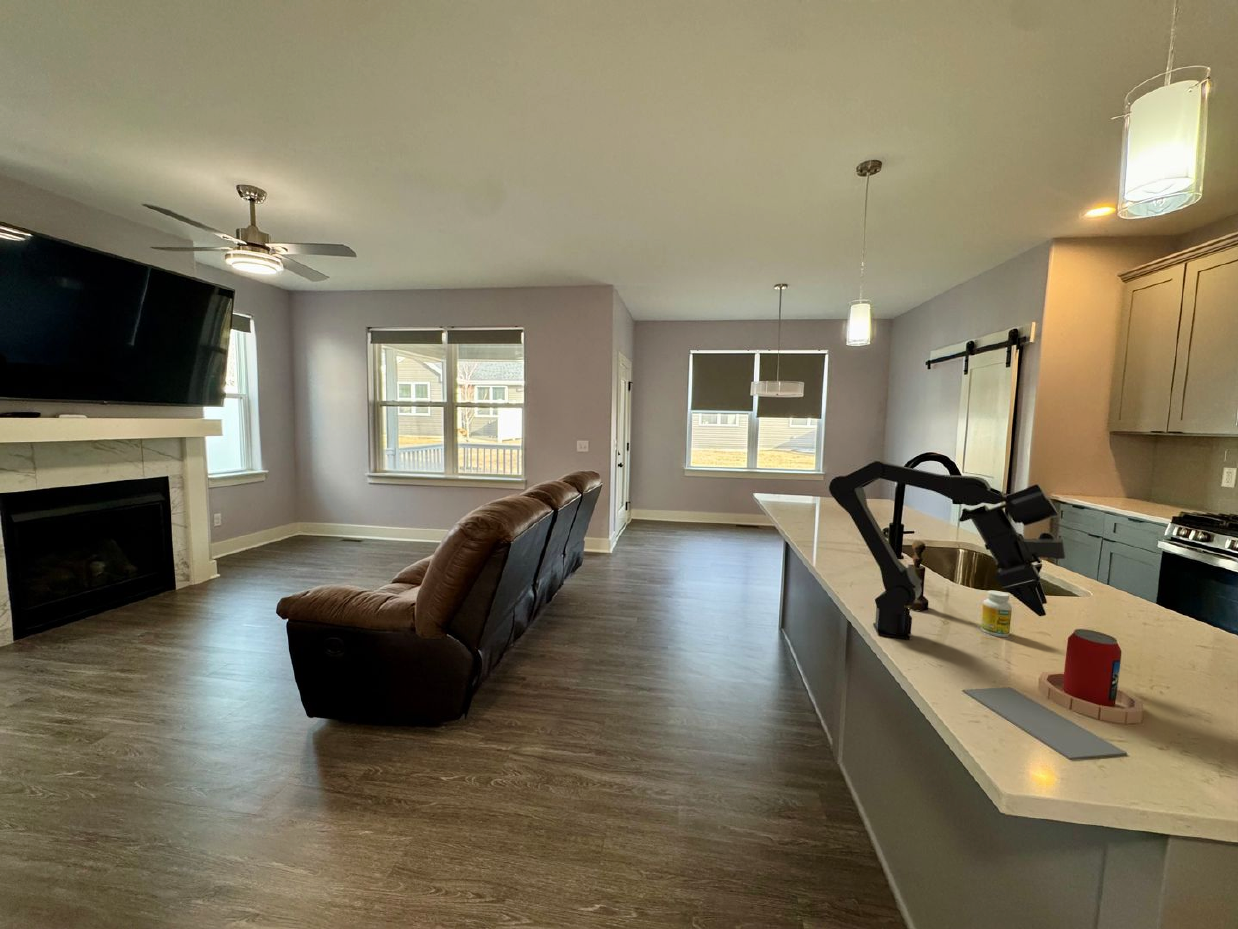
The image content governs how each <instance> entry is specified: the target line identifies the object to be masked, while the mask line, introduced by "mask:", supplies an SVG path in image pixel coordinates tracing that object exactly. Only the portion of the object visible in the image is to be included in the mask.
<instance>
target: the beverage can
mask: <svg viewBox="0 0 1238 929" xmlns="http://www.w3.org/2000/svg"><path fill="white" fill-rule="evenodd" d="M1066 643H1067V645H1066V653H1065V662H1064V671H1063V672H1064V679H1063V684H1062V692H1064V693H1066V694H1069V695H1071V696H1073V697H1075V698H1078V699H1081V700H1084V701H1087V702H1091V703H1094V704H1097V705H1102V706H1108V707H1114V708H1115V706H1116V702H1117V701H1116V696H1117V688H1119V687H1118V686H1119V678H1120V671H1121V670H1120V669H1121V663H1122V662H1121V661H1122V649H1121V647H1120V646H1119V644H1118V640H1117V638H1116V637H1113V636H1112V635H1109V634H1106V633H1103V632H1101V631H1100V632H1099V631H1097V630H1091V629H1086V628H1085V629H1084V628H1076V629H1074V631H1073V632H1072V633H1071V634H1070V635H1069V636H1068V638H1067V642H1066Z"/></svg>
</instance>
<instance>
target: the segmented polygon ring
mask: <svg viewBox="0 0 1238 929" xmlns="http://www.w3.org/2000/svg"><path fill="white" fill-rule="evenodd" d="M1063 679H1064V671H1061V670H1060V671H1059V670H1051V671H1042V672H1041V673H1040V675H1039V677H1038V687H1037V689H1038V690H1039V691H1040V693H1042V694H1043V695H1044V696H1045V697H1046V699H1049V700H1050V701H1052V702H1054V703H1056V704H1057V705H1059V706H1062V707H1064V708H1065V709H1067V710H1071V711H1073V712H1076V713H1079V714H1080V715H1085V716H1086V717H1091V718H1093V719H1096V720H1098V719H1099V720H1101V721H1105V722H1111V723H1118V724H1123V725H1129V724H1137V723H1141V722H1142V721H1143V713H1144V702H1143V701H1142V700H1140V699H1139V698H1138V697H1136V696H1135V695H1133V694H1132V693H1131V692H1128V691H1127V690H1125V689H1123V688H1120V687H1118V688H1117V696H1116V702H1119V703H1121V705H1123V706H1124V707H1125V708H1119V707H1115V706H1114V707H1108V706H1102V705H1097V704H1094V703H1091V702H1087V701H1084V700H1081V699H1078V698H1075V697H1073V696H1071V695H1069V694H1066V693H1065V692H1064V691H1063V690H1061V689H1058V688H1056V687H1055V686H1054V685H1063ZM1126 706H1127V707H1128V708H1127V707H1126Z"/></svg>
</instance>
